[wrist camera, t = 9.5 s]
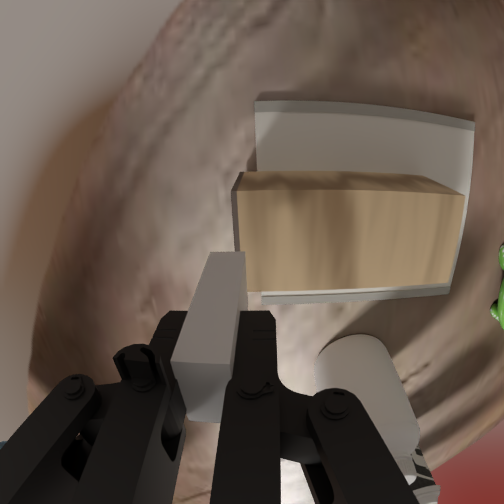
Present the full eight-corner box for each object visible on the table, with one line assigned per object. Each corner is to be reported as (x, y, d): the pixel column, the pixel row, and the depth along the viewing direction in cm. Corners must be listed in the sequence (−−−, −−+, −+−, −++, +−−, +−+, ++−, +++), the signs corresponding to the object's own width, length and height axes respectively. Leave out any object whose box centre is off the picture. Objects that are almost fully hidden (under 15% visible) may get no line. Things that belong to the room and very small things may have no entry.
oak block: (237, 292, 18) (447, 282, 17) (230, 191, 15) (465, 195, 15) (244, 250, 23) (413, 246, 23) (240, 172, 21) (422, 175, 20)
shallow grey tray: (261, 300, 26) (261, 304, 25) (254, 101, 19) (253, 101, 19) (445, 290, 25) (448, 294, 24) (470, 121, 18) (475, 122, 18)
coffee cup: (362, 411, 33) (384, 513, 19) (425, 401, 32) (457, 490, 19) (346, 445, 37) (358, 531, 23) (402, 437, 36) (423, 515, 23)
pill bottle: (386, 374, 30) (423, 487, 16) (318, 391, 31) (333, 512, 17) (386, 322, 27) (443, 453, 13) (306, 342, 28) (325, 488, 14)
